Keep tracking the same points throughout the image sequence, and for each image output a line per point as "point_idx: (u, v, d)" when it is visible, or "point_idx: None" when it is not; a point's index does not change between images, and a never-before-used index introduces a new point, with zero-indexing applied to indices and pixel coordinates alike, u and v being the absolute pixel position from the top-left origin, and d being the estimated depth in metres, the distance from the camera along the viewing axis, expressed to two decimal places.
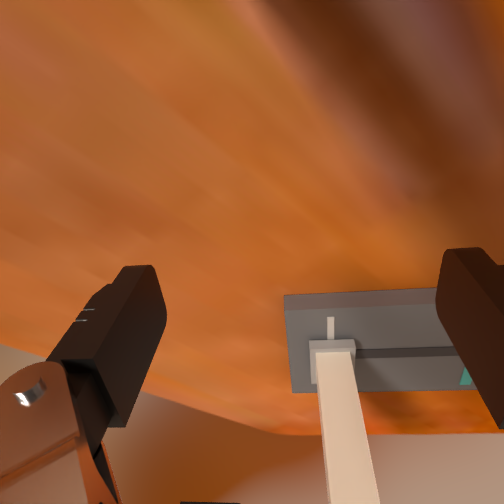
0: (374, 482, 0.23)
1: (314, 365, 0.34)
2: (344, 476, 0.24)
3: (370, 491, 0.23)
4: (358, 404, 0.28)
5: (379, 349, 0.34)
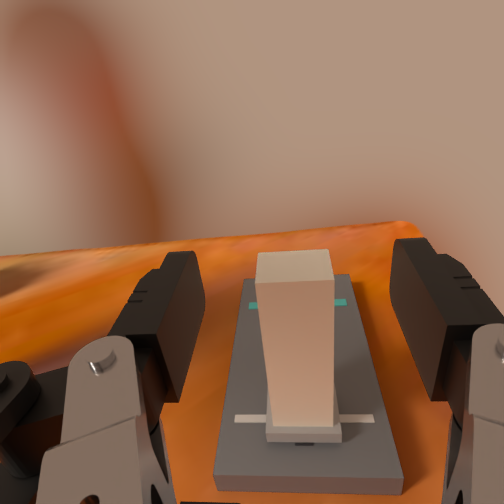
0: None
1: (299, 428, 0.24)
2: None
3: None
4: None
5: None
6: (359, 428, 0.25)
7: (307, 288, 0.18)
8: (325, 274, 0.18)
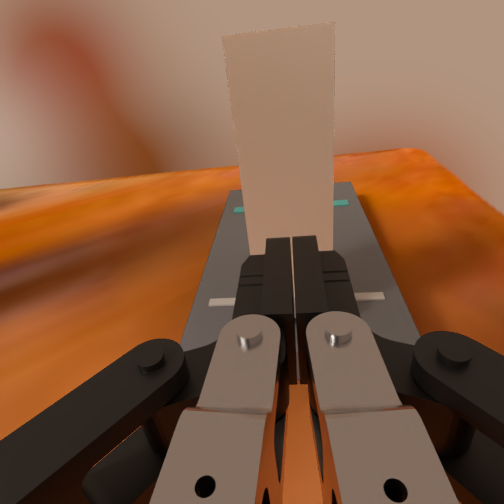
0: None
1: None
2: None
3: None
4: None
5: None
6: (366, 305, 0.20)
7: (296, 43, 0.13)
8: None
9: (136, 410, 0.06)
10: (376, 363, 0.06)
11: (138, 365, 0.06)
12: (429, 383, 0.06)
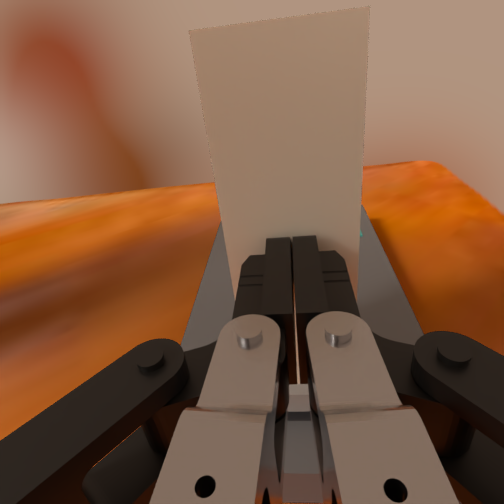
0: None
1: (294, 386, 0.14)
2: None
3: None
4: None
5: None
6: None
7: (307, 40, 0.08)
8: None
9: (136, 410, 0.06)
10: (376, 363, 0.06)
11: (138, 365, 0.06)
12: (429, 383, 0.06)
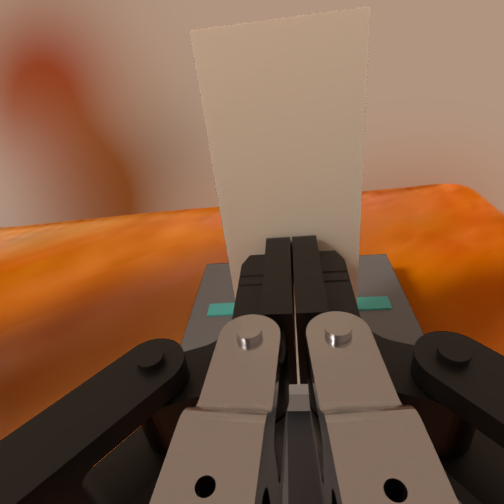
0: None
1: (294, 386, 0.14)
2: None
3: None
4: None
5: (287, 462, 0.13)
6: None
7: (307, 40, 0.08)
8: None
9: (136, 410, 0.06)
10: (376, 363, 0.06)
11: (138, 365, 0.06)
12: (429, 383, 0.06)
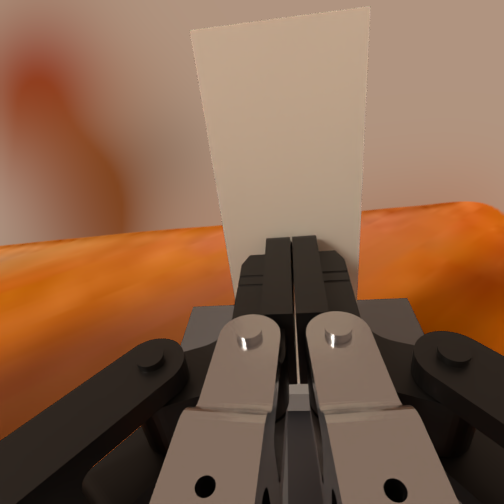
0: None
1: (294, 386, 0.14)
2: None
3: None
4: None
5: None
6: None
7: (307, 40, 0.08)
8: None
9: (136, 410, 0.06)
10: (376, 363, 0.06)
11: (138, 365, 0.06)
12: (429, 383, 0.06)
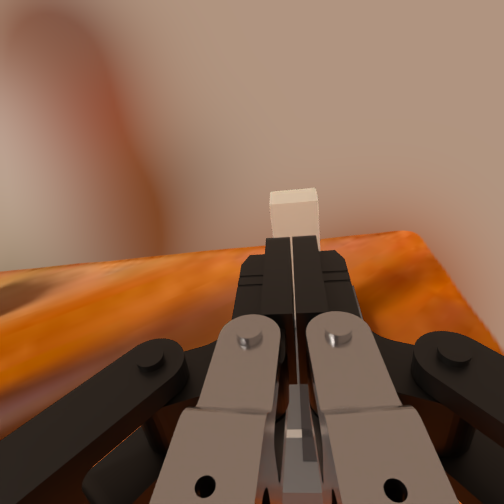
0: None
1: None
2: None
3: None
4: None
5: (299, 384, 0.30)
6: None
7: (301, 207, 0.30)
8: (312, 198, 0.30)
9: (136, 410, 0.06)
10: (376, 363, 0.06)
11: (138, 365, 0.06)
12: (429, 383, 0.06)
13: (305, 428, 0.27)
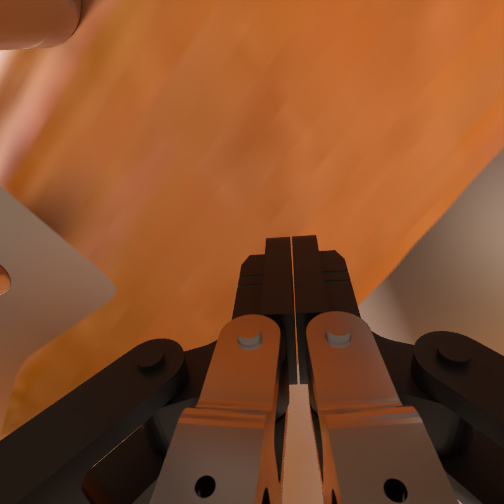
0: None
1: None
2: None
3: None
4: None
5: None
6: None
7: None
8: None
9: (136, 410, 0.06)
10: (376, 363, 0.06)
11: (138, 365, 0.06)
12: (429, 383, 0.06)
13: None
